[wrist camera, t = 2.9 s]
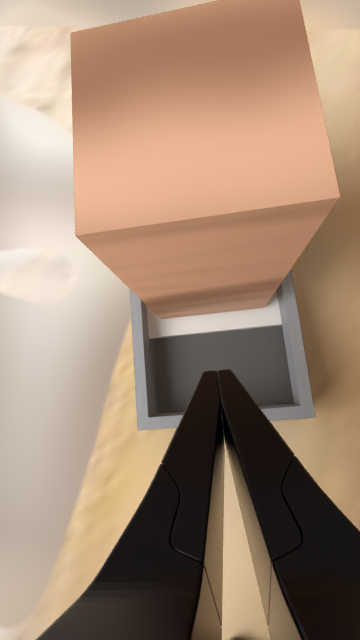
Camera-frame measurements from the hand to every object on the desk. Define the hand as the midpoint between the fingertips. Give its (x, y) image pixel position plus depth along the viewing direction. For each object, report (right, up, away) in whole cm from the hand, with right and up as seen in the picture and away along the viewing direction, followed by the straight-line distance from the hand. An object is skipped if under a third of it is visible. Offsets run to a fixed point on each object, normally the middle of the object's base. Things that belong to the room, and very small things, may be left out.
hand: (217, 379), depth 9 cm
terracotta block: (+1, +5, +10) cm, 11 cm away
